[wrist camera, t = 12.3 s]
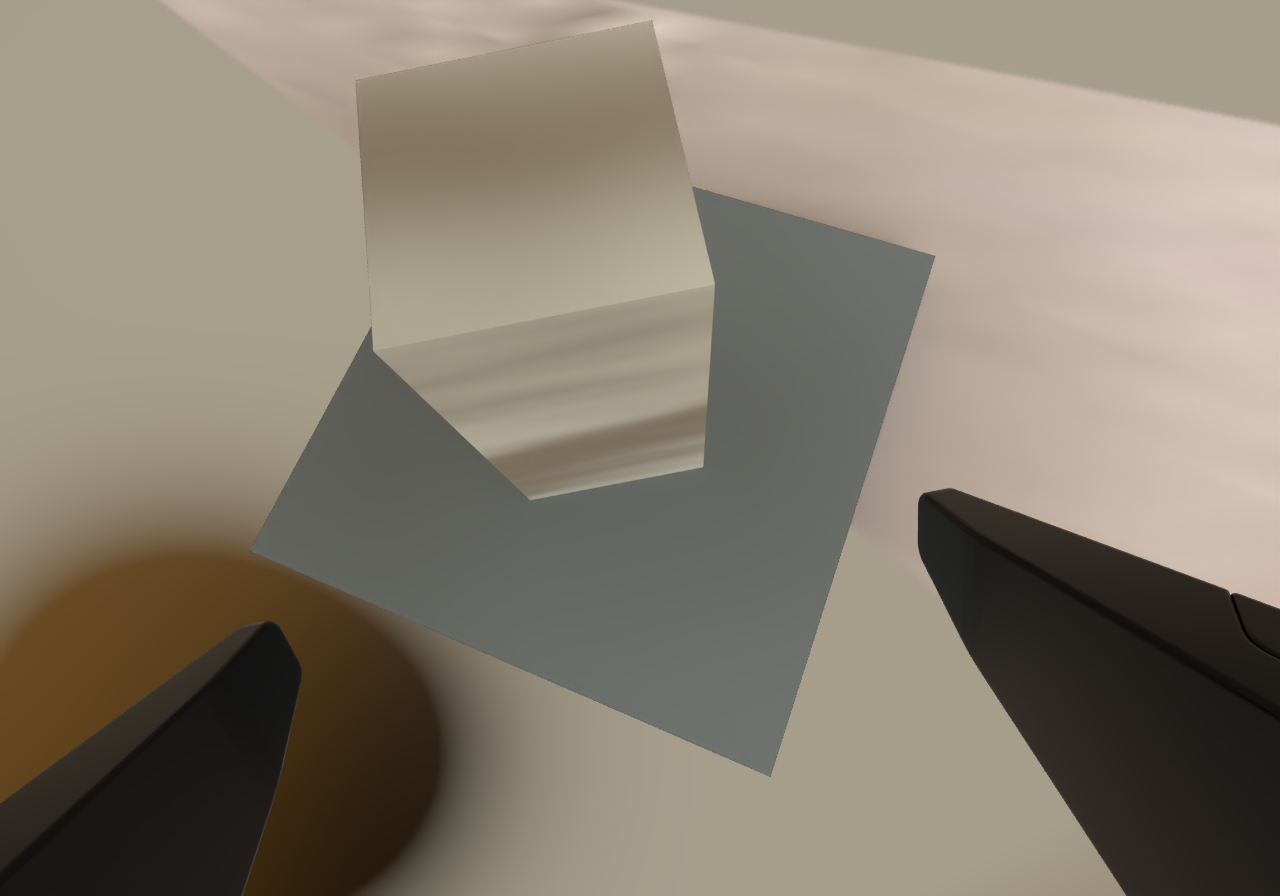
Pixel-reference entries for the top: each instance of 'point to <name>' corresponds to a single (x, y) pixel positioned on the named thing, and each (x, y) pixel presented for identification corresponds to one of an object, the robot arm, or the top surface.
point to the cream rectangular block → (542, 257)
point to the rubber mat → (638, 500)
